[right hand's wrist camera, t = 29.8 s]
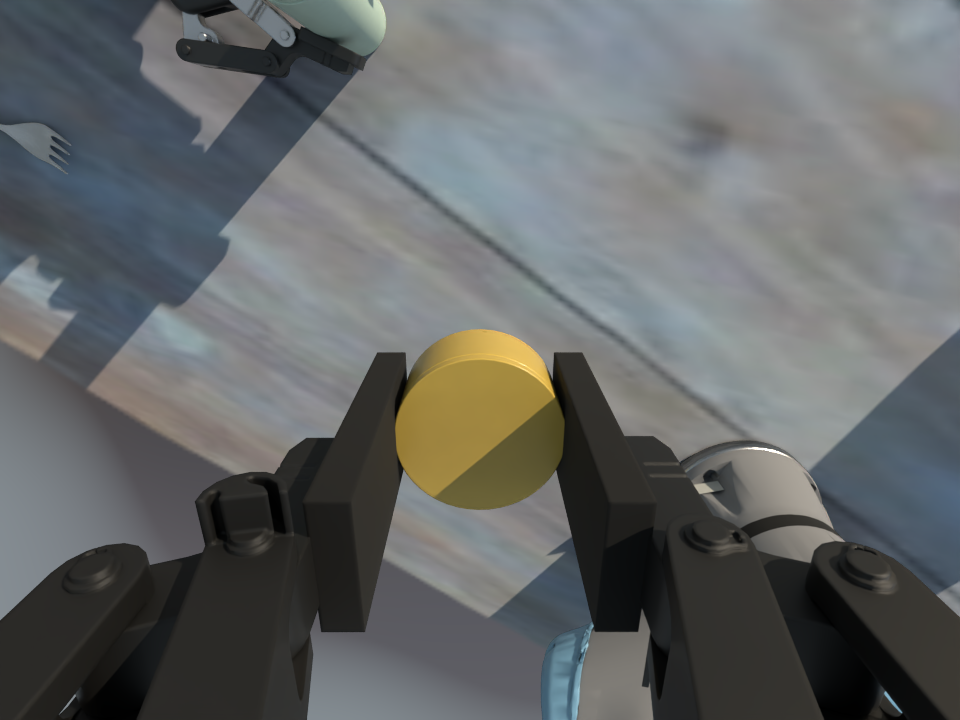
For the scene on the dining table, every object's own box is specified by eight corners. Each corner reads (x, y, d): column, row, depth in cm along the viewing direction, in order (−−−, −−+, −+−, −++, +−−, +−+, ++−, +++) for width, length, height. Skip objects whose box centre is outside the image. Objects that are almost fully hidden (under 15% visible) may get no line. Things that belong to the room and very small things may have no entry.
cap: (383, 433, 15) (369, 477, 13) (438, 304, 14) (432, 331, 12) (515, 482, 16) (521, 531, 14) (580, 364, 14) (597, 399, 12)
